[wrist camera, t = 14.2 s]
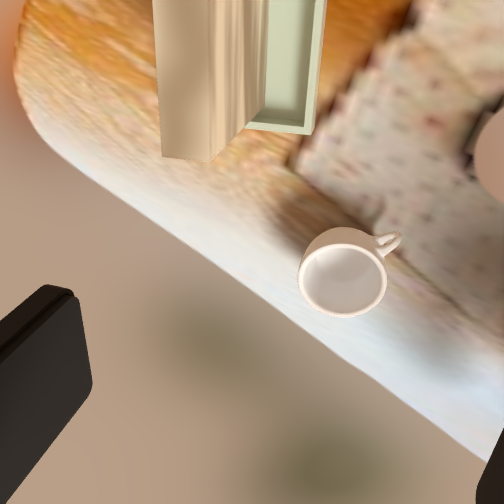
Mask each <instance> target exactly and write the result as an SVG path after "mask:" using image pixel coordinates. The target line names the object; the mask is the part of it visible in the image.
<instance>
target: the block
mask: <svg viewBox="0 0 504 504" xmlns="http://www.w3.org/2000/svg"><path fill="white" fill-rule="evenodd" d="M152 4H153V20H154V36H155V52H156V68H157V84H158V100H159V116H160V132H161V148H162V157H167V158H176V159H184V160H193V161H201V162H211V160H212V159H213V158H214V157H215V156H216V155H217V154H218V153H219V152H220V151H221V150H222V149H223V148H224V147H225V146H226V145H227V144H228V143H229V142H230V141H231V140H232V139H233V138H234V137H235V136H236V135H237V134H238V133H239V132H240V131H241V130H242V129H243V128H244V127H245V126H246V125H247V124H248V123H249V122H250V121H251V120H252V119H253V118H254V117H255V115H256V114H257V113H258V112H259V111H260V110H261V109H262V108H263V107H264V106H265V93H266V71H267V48H268V26H269V4H270V0H152Z"/></svg>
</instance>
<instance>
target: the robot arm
mask: <svg viewBox="0 0 504 504" xmlns="http://www.w3.org/2000/svg"><path fill="white" fill-rule="evenodd" d="M91 389H92V375H91V369H90V363H89V357H88V351H87V345H86V339H85V333H84V327H83V321H82V315H81V309H80V303H79V300H78V298H77V297H75V296H74V294H73V292H72V291H71V290H70V289H67V288H62V287H58V286H53V285H49V284H47V285H43V286H42V287H40V288H39V289H38V290H37V291H35V292H34V293H33V294H32V295H31V296H29V297H28V298H27V299H26V300H25V301H24V302H22V303H21V304H20V305H19V306H17V307H16V308H15V309H14V310H13V311H11V312H10V313H9V314H8V315H7V316H5V317H4V318H3V319H2V320H1V321H0V504H6V502H7V501H8V500H9V498H10V497H11V496H12V495H13V493H14V492H15V491H16V489H17V488H18V487H19V486H20V484H21V483H22V482H23V480H24V479H25V477H26V476H27V475H28V474H29V473H30V471H31V470H32V469H33V467H34V466H35V465H36V463H37V462H38V461H39V460H40V458H41V457H42V456H43V454H44V453H45V452H46V451H47V449H48V448H49V447H50V445H51V444H52V443H53V441H54V440H55V439H56V438H57V436H58V435H59V434H60V432H61V431H62V430H63V428H64V427H65V426H66V424H67V423H68V422H69V421H70V419H71V418H72V417H73V416H74V414H75V413H76V412H77V410H78V409H79V408H80V406H81V405H82V404H83V403H84V401H85V400H86V399H87V397H88V396H89V394H90V392H91ZM476 504H504V428H503V431H502V433H501V435H500V437H499V439H498V441H497V444H496V446H495V448H494V450H493V452H492V455H491V457H490V459H489V461H488V463H487V465H486V468H485V470H484V472H483V474H482V476H481V478H480V481H479V483H478V486H477V490H476Z"/></svg>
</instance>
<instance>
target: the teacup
mask: <svg viewBox="0 0 504 504" xmlns="http://www.w3.org/2000/svg"><path fill="white" fill-rule="evenodd" d="M391 238H394V240H393V241H392V242H390V243H389V244H387V245H383V244H384V243H385V242H386V241H388V240H389V239H391ZM401 240H402V235H401V234H400V232H398V231H393V232H389V233H385V234H382V235H378V236H371V235H368V234H367V233H365V232H363V231H361V230H358V229H355V228H350V227H336V228H332V229H329V230H327V231H325V232H323V233H322V234H320V235H319V236H317V237H316V238H315V239H314V240H313V241H312V242H311V243H310V245H309V246H308V248H307V250H306V251H305V253H304V256H303V258H302V260H301V263H300V266H299V270H298V278H297V282H298V288H299V291H300V293H301V295H302V297H303V298H304V300H305V301H306V302H307V303H308V304H309V305H310V306H311V307H312V308H314V309H315V310H317V311H319V312H321V313H323V314H326V315H329V316H333V317H353V316H357V315H360V314H363V313H365V312H367V311H369V310H370V309H372V308H373V307H374V306H376V305H377V304H378V303H379V301H380V300H381V299H382V297H383V295H384V293H385V290H386V286H387V270H386V263H385V258H384V256H385V255H386V254H387V253H389V252H390V251H392V250H393V249H394V248H395V247H397V246H398V244H399V243H400V242H401Z"/></svg>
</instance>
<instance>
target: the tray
mask: <svg viewBox="0 0 504 504" xmlns="http://www.w3.org/2000/svg"><path fill="white" fill-rule="evenodd" d="M326 8H327V0H270V4H269V26H268V48H267V71H266V93H265V106H264V107H263V108H262V109H261V110H260V111H259V112H258V113H257V114H256V115H255V117H254V118H253V119H252V120H251V121H250V122H249V123H248V124H247V125H246V126H245V127H244V128H247V129H257V130H266V131H276V132H285V133H295V134H305V135H311V133H312V131H313V129H314V127H315V117H316V107H317V97H318V87H319V77H320V67H321V57H322V48H323V38H324V28H325V18H326Z"/></svg>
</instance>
